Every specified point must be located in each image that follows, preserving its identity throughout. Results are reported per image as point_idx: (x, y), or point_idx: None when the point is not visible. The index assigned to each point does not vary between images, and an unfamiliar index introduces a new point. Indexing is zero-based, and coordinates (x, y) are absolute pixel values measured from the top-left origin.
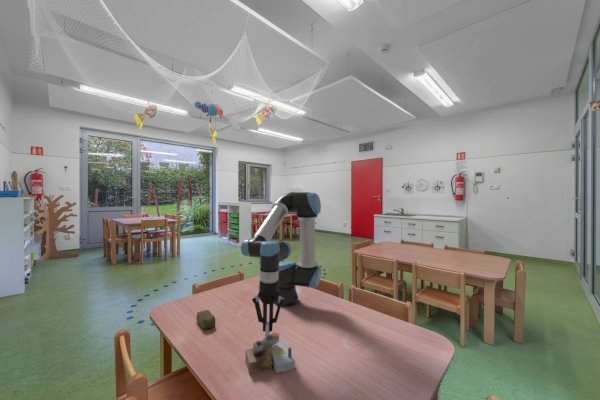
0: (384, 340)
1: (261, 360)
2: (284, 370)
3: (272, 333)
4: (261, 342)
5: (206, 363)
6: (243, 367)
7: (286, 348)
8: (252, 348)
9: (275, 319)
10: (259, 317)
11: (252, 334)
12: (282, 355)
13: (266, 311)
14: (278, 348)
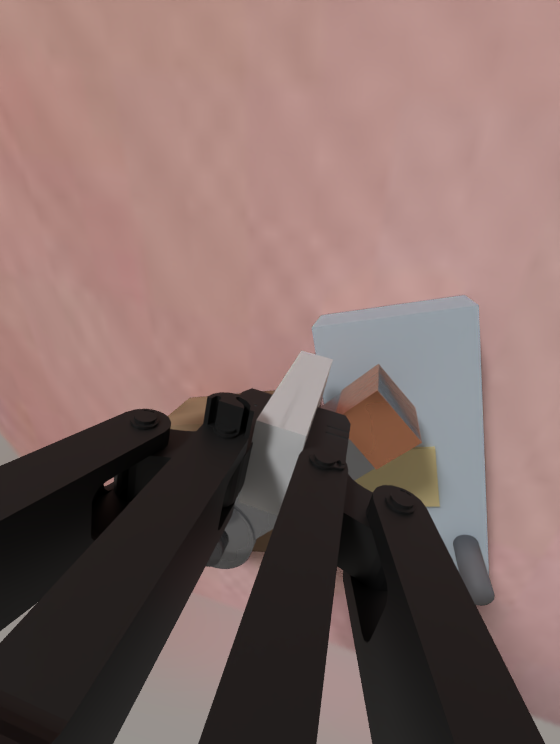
0: None
1: (261, 549)
2: None
3: (354, 409)
4: (238, 520)
5: (5, 371)
6: None
7: (470, 455)
8: (199, 425)
9: (372, 614)
10: (98, 532)
11: (212, 53)
12: None
13: (158, 626)
14: None
